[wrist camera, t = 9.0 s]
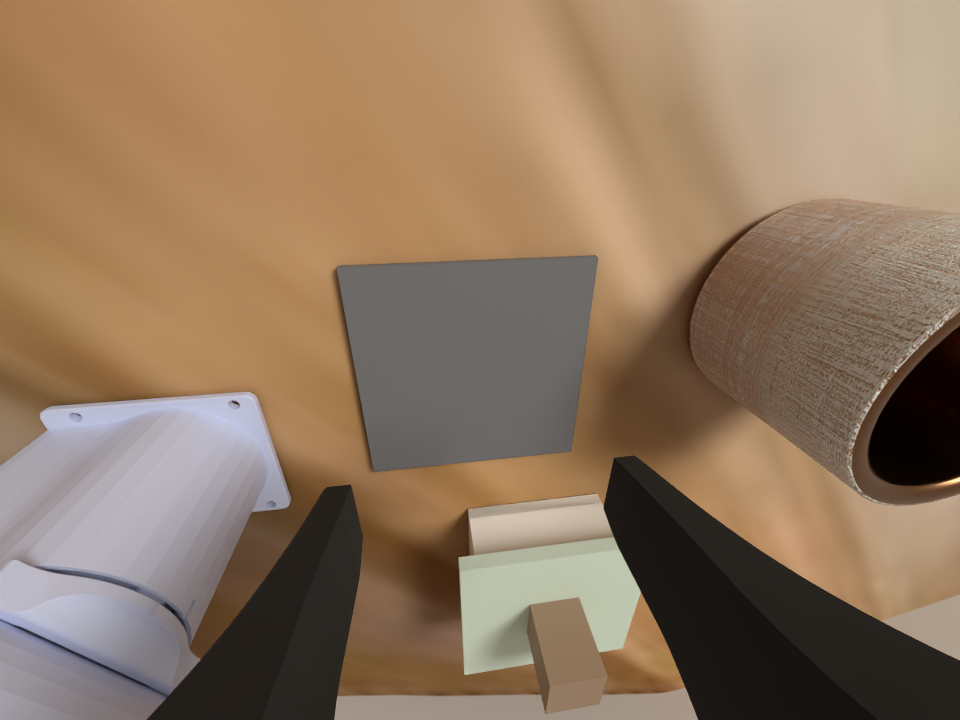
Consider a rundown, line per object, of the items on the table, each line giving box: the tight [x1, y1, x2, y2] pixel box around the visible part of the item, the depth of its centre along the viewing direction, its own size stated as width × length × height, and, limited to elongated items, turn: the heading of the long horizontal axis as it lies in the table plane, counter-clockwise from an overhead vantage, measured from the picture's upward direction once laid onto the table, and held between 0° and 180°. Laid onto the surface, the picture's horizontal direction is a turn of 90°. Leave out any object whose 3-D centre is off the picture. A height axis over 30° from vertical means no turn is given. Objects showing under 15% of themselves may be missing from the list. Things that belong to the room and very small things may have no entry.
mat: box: [337, 255, 598, 472], centre depth 21 cm, size 12×12×1 cm
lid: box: [458, 537, 641, 714], centre depth 22 cm, size 11×11×5 cm
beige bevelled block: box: [468, 494, 614, 556], centre depth 26 cm, size 9×9×4 cm
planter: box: [689, 199, 960, 506], centre depth 17 cm, size 11×11×10 cm
